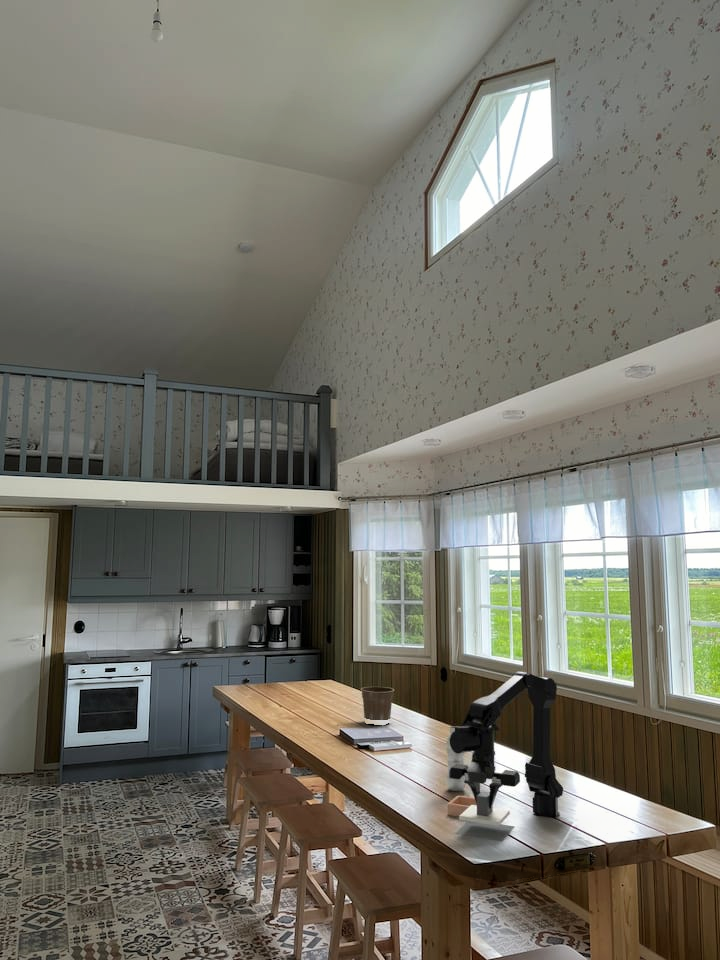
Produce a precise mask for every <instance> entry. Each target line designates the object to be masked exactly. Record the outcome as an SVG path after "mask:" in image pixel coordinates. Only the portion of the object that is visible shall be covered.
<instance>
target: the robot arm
mask: <svg viewBox="0 0 720 960" xmlns="http://www.w3.org/2000/svg"><path fill="white" fill-rule="evenodd" d="M557 687H558V686H557V682H555V680H554V679H553V678H550V677H544V676H538V675H537V676H536V675H534V674H531V673H530V672H526V671H516V672H514V674H513V676H512V677H510V678H509V679H508V680H507V681H506V682H504V683H503V684H501V686H500V687H498V688H497V689H496V690H495V691H493V692H492V693H491V694H489V695H486V696H482V697H479V698H477V699H476V700H474V701H473V702H471V703H470V705H469V709H468V711H467V712H466V714H465V715H466V716H465V717H464V719H463V720H462V721H463V722H461V726H457V727H455V732H453V733H452V734H451V737H450V746H451V748H452V750H453V751H454V752H455V753H457V754H459V753H464V754H465V753H470V752H472V753H471V754H472V756H471V761H470V763H469V765H467V764H464V765H462V764H456V765H454V766H453V767H451V768H450V770H449V778H452V779H460V778H461V777H462V776H465V780H464V783H466V784H467V785H468V786H469V788H470V789H471V792H472V795H473V798H475V801H476V803H477V795H478V794H479V793H480V792H481V784H485V783H487V780H490V781H491V782H490V784H488V786H489V792H490V797H489V808H490V809H491V808H492V806H493V805H494V803H495V799H496V796H497V794H498V791H499V789H500V788H502V787H505V786H507V787H513V788H514V787H516V786H518V784H520V782H521V775H520V772H518V771H517V770H509V769H505V770H504V771H502V772H496V766H495V755H496V751H495V732H498V731H500V728H499V726H497V724H495V723H496V722H497V720H498V719H499V718H500V717H501V715H502V711H503V709H504V708H505V707H506V706H507V705H508V704H510V702H512V701H513V700H514V699H515V698H516V697H518V696H519V695H520V694H521V693H523V692H524V691H525V690H527V696H528V699H529V701H530V703H531V705H532V757H531V759H530V760H529V762H526V763H525V765H524V769H525V771H524V772H525V773H524V778H525V780H526V781H525V782H526V783H527V785H528V788H529V792H533V793H534V796H533V797H532V815H533V816H536V817H543V818H549V819H550V818H551V819H556V818H558V817H559V815H560V814H561V813H560V811H559V799H560V797H561V796H563V792H564V787H563V785H561V783H560V782H559V780H557V776H556V769H555V766H554V764H553V763H552V761H551V708H552V706H553V705H554V703H555V701H556V698H557V689H558V688H557ZM558 798H559V799H558Z"/></svg>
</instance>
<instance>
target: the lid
mask: <svg viewBox="0 0 720 960" xmlns="http://www.w3.org/2000/svg"><path fill="white" fill-rule="evenodd" d="M489 797H490V791H485V790H480V793H479V794H478V795H477V805H471V806H470V807H469V808H467V809H466V810H465V811H464V812H463V813H462V814H461V815H460V816H459V817H458V818H459V821H465V822H468V821H471V822H477V823H483V824H489V825H496V826H500V824H503V822H505V820H506V819H507V818H508V817H509V816H510V813H511V811H510V809H504V808H497V807H493V806H492V808H491V809H490V808H489Z"/></svg>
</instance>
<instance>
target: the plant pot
mask: <svg viewBox="0 0 720 960" xmlns="http://www.w3.org/2000/svg"><path fill="white" fill-rule="evenodd" d="M360 691H361V698H362V702H363V716H364V717H363V718H366V719H370V720H388V719H390V720H391V712H392V704H393V699H394V692H395V689H394V688H392V687H388V686H387V687H385V686H366V687H361V688H360Z"/></svg>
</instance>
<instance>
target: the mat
mask: <svg viewBox="0 0 720 960" xmlns="http://www.w3.org/2000/svg"><path fill="white" fill-rule="evenodd" d="M513 829H515V826H514V825H513V826H512V825H510V824H509V825H508V824H507V825H506V824H503V823H501V824H500V826H496V825H489V824H483V823H477V822H471V821H466V822H465V823H464V824H463V825H462V826H461V827H460V828H459V829H458V830H457V831H456V832H455V834H456V835H461V836H467V837H473V838H474V837H475V838H479V839H485V840H490V841H496V842H503V841H504V840H505V839H506V838H507V837H508V836H509V834H510V833H511V832H512V831H513ZM455 834H454V835H455Z"/></svg>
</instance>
